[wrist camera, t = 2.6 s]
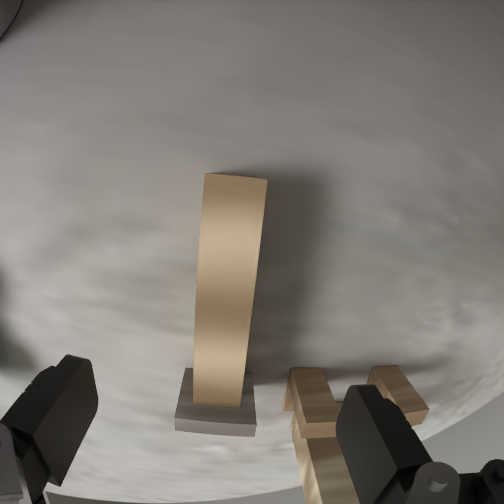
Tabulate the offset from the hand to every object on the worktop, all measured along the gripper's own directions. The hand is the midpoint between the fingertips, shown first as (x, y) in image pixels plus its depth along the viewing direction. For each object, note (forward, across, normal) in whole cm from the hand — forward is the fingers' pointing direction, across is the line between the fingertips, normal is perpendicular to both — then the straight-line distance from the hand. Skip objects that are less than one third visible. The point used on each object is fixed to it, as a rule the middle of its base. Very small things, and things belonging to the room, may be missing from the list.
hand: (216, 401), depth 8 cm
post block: (+12, -10, +10) cm, 19 cm away
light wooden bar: (+12, 0, +1) cm, 12 cm away
